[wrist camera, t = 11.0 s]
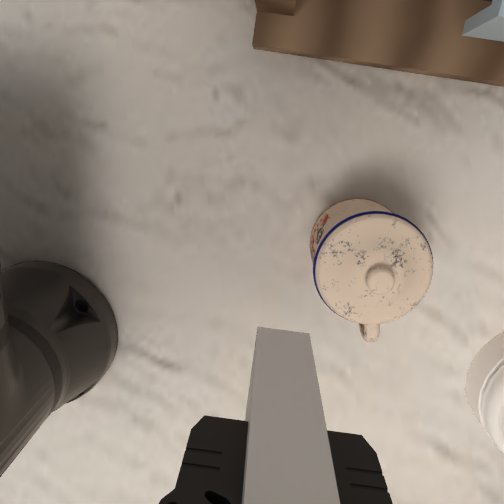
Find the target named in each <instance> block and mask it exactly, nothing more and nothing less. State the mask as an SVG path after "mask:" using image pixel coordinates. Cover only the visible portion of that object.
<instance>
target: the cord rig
mask: <svg viewBox="0 0 504 504" xmlns="http://www.w3.org/2000/svg"><path fill="white" fill-rule="evenodd" d="M255 3H256V8H257V14H256V22H255V29H254V36H253V43H252V45H253V48H254V49H259V50H266V51H273V52H279V53H286V54H292V55H299V56H306V57H312V58H319V59H326V60H332V61H339V62H345V63H352V64H359V65H365V66H372V67H378V68H385V69H392V70H398V71H405V72H411V73H418V74H425V75H431V76H438V77H445V78H451V79H458V80H464V81H471V82H478V83H484V84H491V85H497V86H504V42H503V41H496V40H489V39H482V38H476V37H469V36H462V33H463V29H464V25H465V21H466V20H467V19H469V18H470V17H472V16H474V15H475V14H477V13H478V12H480V11H482V10H483V9H485V8H487V7H488V6H490V5H491V4H492V0H255Z"/></svg>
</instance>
